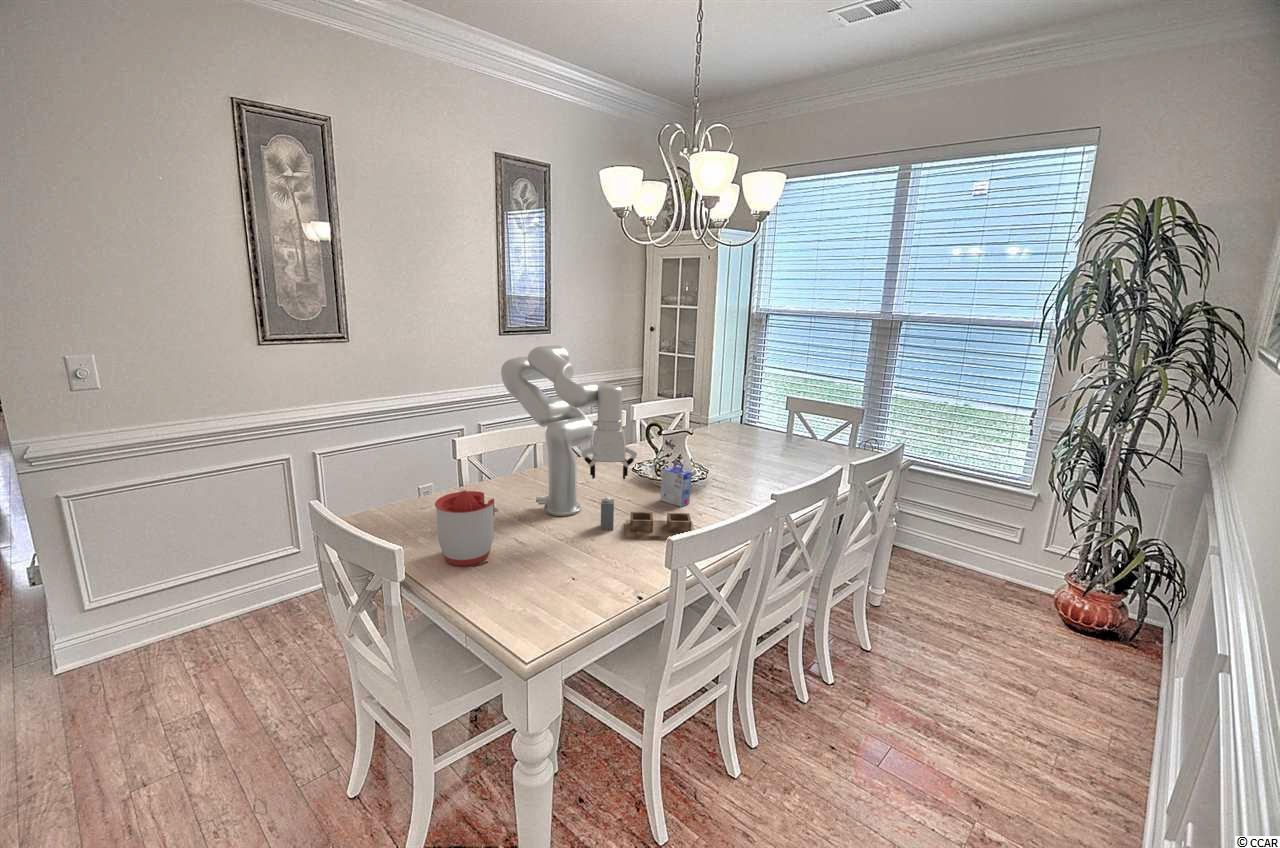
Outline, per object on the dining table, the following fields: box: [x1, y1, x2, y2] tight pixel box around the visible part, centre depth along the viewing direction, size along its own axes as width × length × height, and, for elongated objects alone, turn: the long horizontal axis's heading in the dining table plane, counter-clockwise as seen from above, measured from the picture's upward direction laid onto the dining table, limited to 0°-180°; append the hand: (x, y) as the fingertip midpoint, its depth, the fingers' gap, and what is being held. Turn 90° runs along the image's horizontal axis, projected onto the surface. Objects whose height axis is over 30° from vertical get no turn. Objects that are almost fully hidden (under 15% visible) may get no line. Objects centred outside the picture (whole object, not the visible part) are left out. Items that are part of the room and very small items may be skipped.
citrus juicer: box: [434, 490, 500, 567], centre depth 157 cm, size 16×17×20 cm
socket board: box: [625, 511, 695, 541], centre depth 179 cm, size 22×12×5 cm, turn 91°
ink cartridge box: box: [660, 462, 692, 507], centre depth 204 cm, size 10×6×14 cm, turn 51°
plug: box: [600, 496, 615, 531], centre depth 180 cm, size 4×4×10 cm
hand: (608, 477), depth 177 cm, fingers open, 9 cm apart
